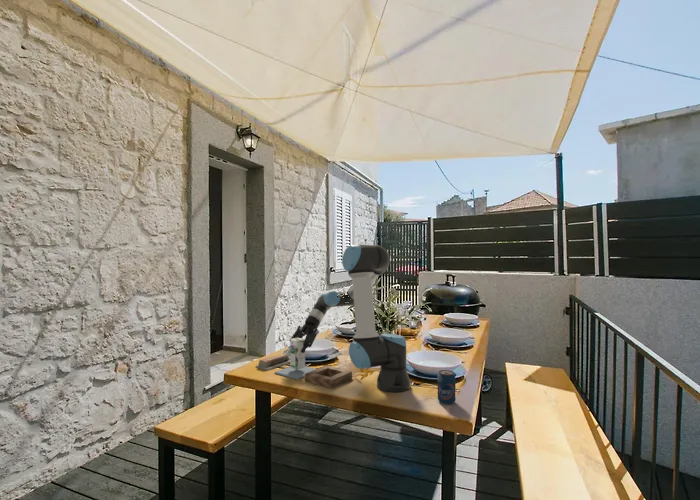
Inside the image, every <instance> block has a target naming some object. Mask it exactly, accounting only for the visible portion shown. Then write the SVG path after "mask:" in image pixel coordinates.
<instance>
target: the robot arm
mask: <svg viewBox="0 0 700 500" xmlns="http://www.w3.org/2000/svg"><path fill="white" fill-rule="evenodd" d="M341 260H342V261H341V262H342V267H343V269H344V271H347V273H348V276H349V277H350V278H351V280H352V285H351V286H350V287H349V289H348V290H347V291H348V293H347V294H348V295H345V293H346V292H347V291H344V292H337V291H336V290H331V291H328V292H326V293H322V294H320V296H319V297H318V299H317V300H316V303H315V304H314V306H313V307H312V309H311V311H310V313H309V314H308V316H307V318H306V319H305V320H304V324H303V325H302V326H300V325H298V326H297V328H296V331H295V332H294V333H293V335H292V336H291V338H290V339H293V338H301V339H303V337H305V338H304V339H305V341H304V344H303V345H304V346H303V345H302V346H301V347H300V349H299V351H298V353H297V354H296V357H297V358H298V359H300V357H301V355H302V354H303V353H304V352H305V353H306V349H308V348H311V347H312V346H313V344H314V342H315V340H316V337H317V336H318V334H319V333H320V331H319V330H318V328H319V326H320V324H321V322H322V321H323V319H324V317H325V315H326V314H327V312H328V310H330V309H332V308H335V307H337V308H338V307H348V306H351V307H352V306H354V307H353V308H354V320H355V334H354V335H353V336H352V338H353V339H352V340H353V341H352V342H350V343H349V347H348V353H349V357H350V361H351V362H352V365H354V367H356V368H357V369H359V370H365V369H367V370H368V369H371V368H377V367H380V368H379V369H380V370H379V373H378V375H377V379H376V387H377V388H378V389H379V390H381V391H385V392H389V393H401V392H406V391H409V390H410V389H411V379H410V376H409V373H408V370H407V339H406V338H405V336H403V335H401V334H400V335H399V334H394V333H381V334H379V333H378V332H377V331H376V321H375V320H376V319H375V310H374V309H375V308H374V296H373V294H374V293H373V286H372V285H373V283H374V282H375V281H376V280H377V279H378V277H379V276H382V275H383V274H384V273H385V272H386V271H387V270H388V268H389V266H390V262H391V258H390V253H389V252H388V250H387V249H386V248H385V247H383V246H381V245H376V244H373V245H372V244H351V245H347V247H346V248H345V250H344V251H343V255H342V259H341ZM350 289H351V290H350ZM338 294H340V295H343V294H344V295H343V296H344V298H340V297H339V296H340V295H338ZM337 295H338V297H339V298H338V297H337ZM343 296H342V297H343ZM348 296H349V297H348ZM350 299H351V300H350ZM345 302H349V303H346V304H344V303H345ZM285 354H286V355H287V356H288V357H289V358H290V345H289V346H288V349H287V351H286V352H285Z"/></svg>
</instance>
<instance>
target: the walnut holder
mask: <svg viewBox="0 0 700 500" xmlns="http://www.w3.org/2000/svg"><path fill="white" fill-rule="evenodd" d="M315 369H316V370H313V371H311V372H308V373H306V374H305V377H304V381H305V382H307V383H311V384H314V385H318V386H321V387H323V388H328V389H333V388H335V387H337V386H340V385H341V384H344V383H346V382H348V381H350V380H352V379H353V371H352V370H349V369H344V368H340V367H335V366H331V365H327V364H326V365H324V366H322V367H319V368H315Z"/></svg>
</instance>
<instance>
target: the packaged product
mask: <svg viewBox="0 0 700 500" xmlns="http://www.w3.org/2000/svg"><path fill="white" fill-rule="evenodd" d="M289 363H290V357H288V356H287V355H286V353H283V354H276V355H273V356H269V357H266V358H262V359H260V360H259V361H258V364H256V365H255V368H258V369H261V370H265V371H271V370H274V369H277V368H280V367H284V366H286V364H287V365H290V364H289ZM283 365H284V366H283Z"/></svg>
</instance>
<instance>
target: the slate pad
mask: <svg viewBox="0 0 700 500" xmlns="http://www.w3.org/2000/svg"><path fill="white" fill-rule="evenodd" d="M316 369H317V368H314V367H310V366H306V365H305V367H304V368H301V369H297V370H296V369H293V368H290V366H289V367H285V368H282V369H280V370H276V371H274V374H276V375H279V376H282V377H285V378H288V379H293V380H295V381H296V380H297V381H298V380H302V379H305V374H306V373H308V372H311V371H313V370H316Z"/></svg>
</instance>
